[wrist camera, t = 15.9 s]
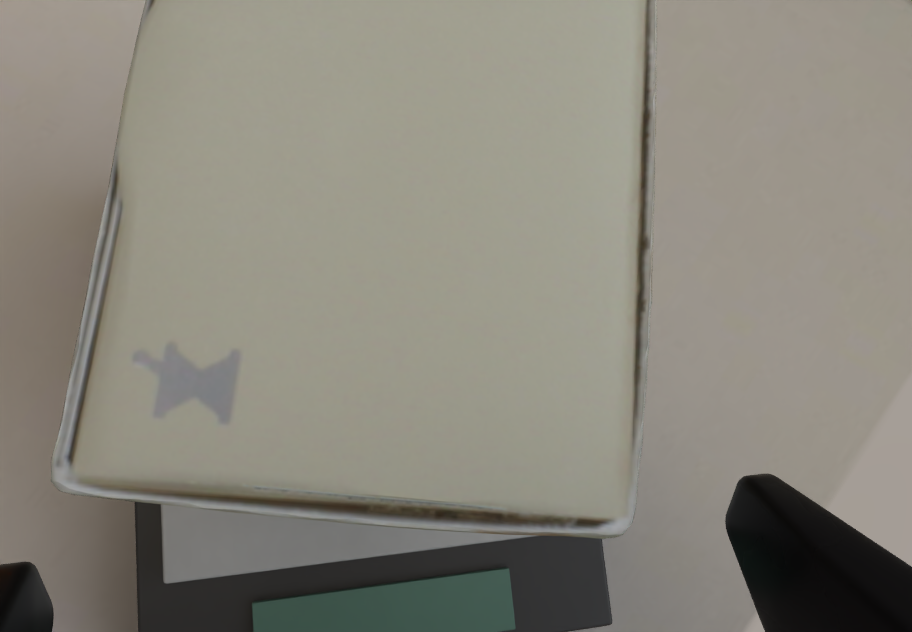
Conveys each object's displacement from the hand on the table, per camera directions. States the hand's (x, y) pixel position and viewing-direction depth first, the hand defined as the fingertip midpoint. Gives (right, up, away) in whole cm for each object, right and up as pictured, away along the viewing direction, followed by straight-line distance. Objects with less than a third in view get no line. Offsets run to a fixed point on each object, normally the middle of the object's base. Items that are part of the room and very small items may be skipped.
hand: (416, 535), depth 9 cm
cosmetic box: (-2, +2, +8) cm, 9 cm away
